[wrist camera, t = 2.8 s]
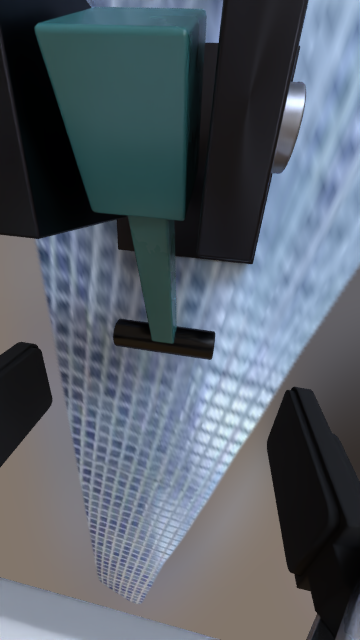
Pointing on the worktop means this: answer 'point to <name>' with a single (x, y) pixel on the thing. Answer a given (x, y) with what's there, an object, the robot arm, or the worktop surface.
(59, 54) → the lever
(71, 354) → the worktop surface
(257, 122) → the bracket
